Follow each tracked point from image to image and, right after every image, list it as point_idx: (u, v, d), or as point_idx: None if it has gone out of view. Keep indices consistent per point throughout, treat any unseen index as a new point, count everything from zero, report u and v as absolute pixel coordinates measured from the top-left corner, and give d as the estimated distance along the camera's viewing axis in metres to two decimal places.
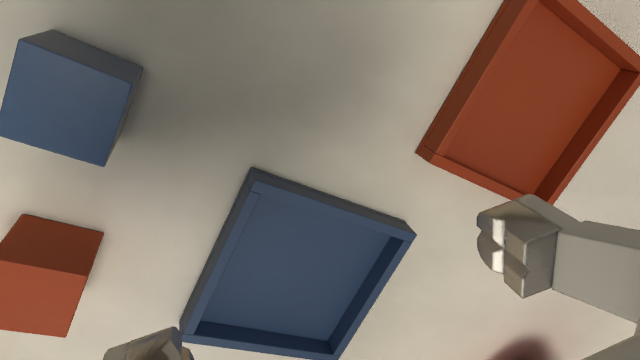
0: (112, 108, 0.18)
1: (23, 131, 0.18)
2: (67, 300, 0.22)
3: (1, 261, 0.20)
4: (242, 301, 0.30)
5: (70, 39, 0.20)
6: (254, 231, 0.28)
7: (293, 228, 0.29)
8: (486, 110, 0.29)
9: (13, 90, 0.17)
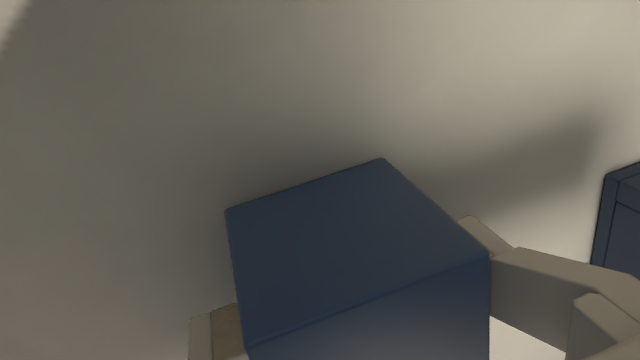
0: (469, 317, 0.07)
1: None
2: None
3: None
4: None
5: (265, 210, 0.10)
6: None
7: None
8: None
9: None
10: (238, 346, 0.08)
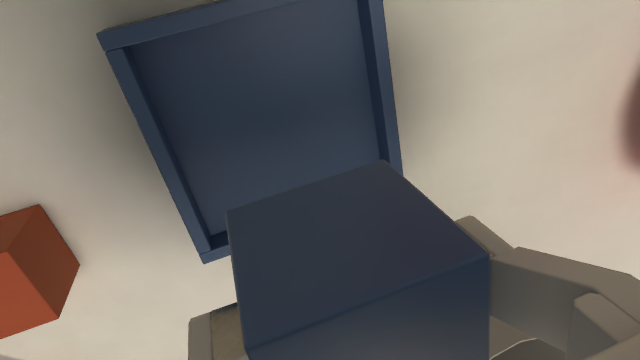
0: (469, 319, 0.07)
1: None
2: (16, 284, 0.18)
3: None
4: (244, 189, 0.24)
5: (265, 211, 0.10)
6: (180, 103, 0.21)
7: (221, 70, 0.21)
8: None
9: None
10: (238, 346, 0.08)
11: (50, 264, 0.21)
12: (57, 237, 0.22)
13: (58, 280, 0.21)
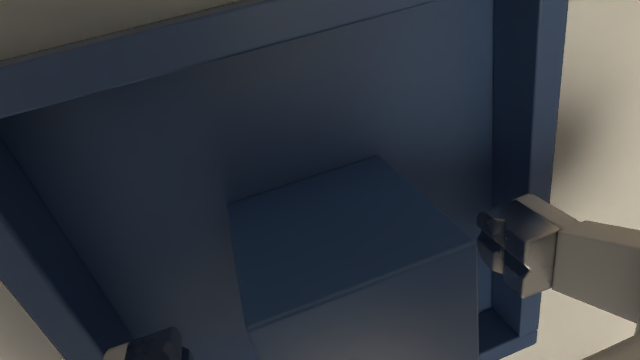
0: (458, 304, 0.08)
1: None
2: None
3: None
4: (255, 354, 0.13)
5: (265, 204, 0.10)
6: (124, 226, 0.10)
7: (211, 157, 0.10)
8: None
9: None
10: None
11: None
12: None
13: None
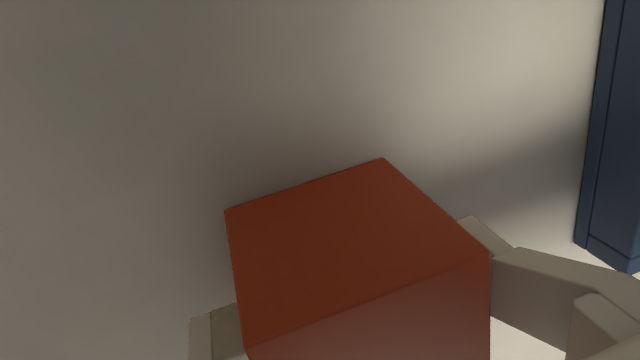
0: None
1: None
2: (465, 332, 0.08)
3: (277, 338, 0.06)
4: None
5: None
6: None
7: None
8: None
9: None
10: (238, 346, 0.08)
11: None
12: None
13: None
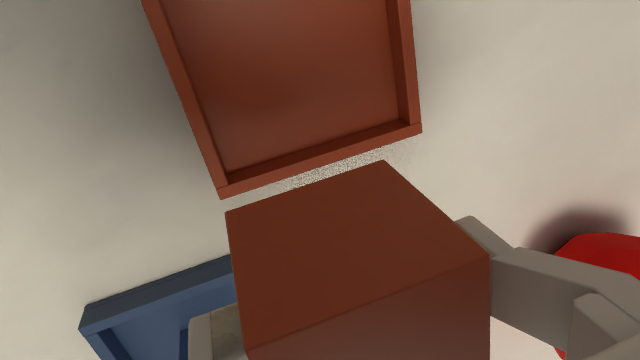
0: None
1: None
2: (465, 334, 0.08)
3: (278, 340, 0.06)
4: None
5: None
6: (142, 341, 0.28)
7: (173, 317, 0.28)
8: (245, 98, 0.23)
9: None
10: (238, 346, 0.08)
11: None
12: None
13: None
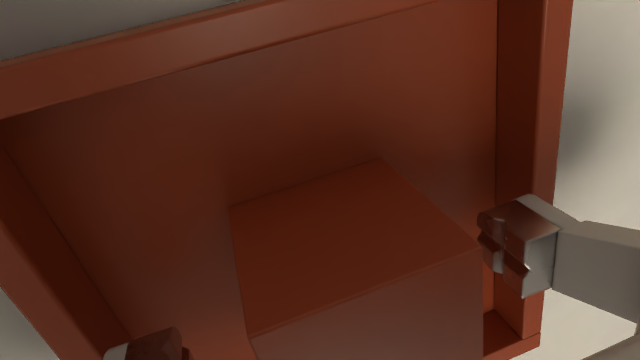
0: None
1: None
2: (460, 324, 0.08)
3: (279, 329, 0.07)
4: None
5: None
6: None
7: None
8: (225, 324, 0.12)
9: None
10: None
11: None
12: None
13: None
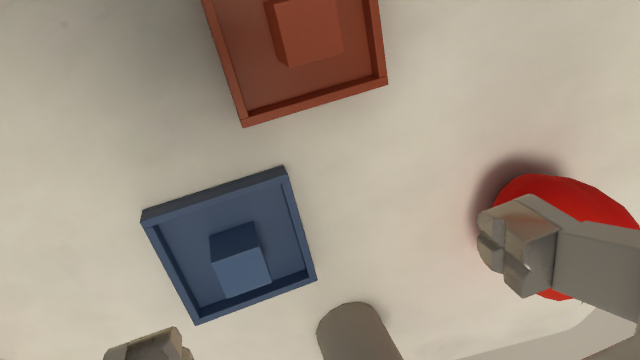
0: (258, 260, 0.36)
1: (235, 291, 0.37)
2: (331, 17, 0.29)
3: (281, 3, 0.27)
4: None
5: (219, 236, 0.38)
6: (182, 242, 0.38)
7: (204, 224, 0.38)
8: (261, 55, 0.33)
9: (221, 280, 0.36)
10: None
11: None
12: None
13: None
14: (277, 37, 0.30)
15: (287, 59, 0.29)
